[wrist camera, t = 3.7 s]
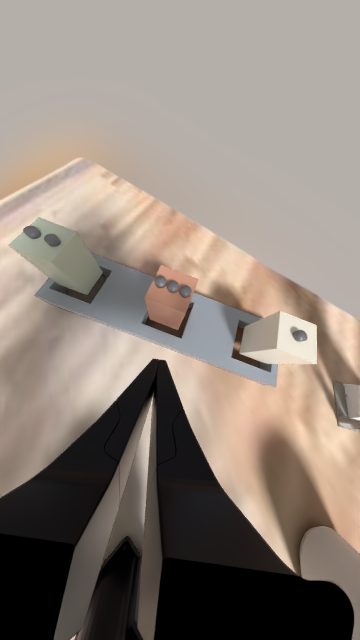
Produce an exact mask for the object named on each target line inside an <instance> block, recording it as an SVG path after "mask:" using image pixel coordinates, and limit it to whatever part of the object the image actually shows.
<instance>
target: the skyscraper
mask: <svg viewBox="0 0 360 640" xmlns="http://www.w3.org/2000/svg"><path fill="white" fill-rule="evenodd" d="M333 387H334V396H335V404H336V413H337V421H338V426H340V427H343V428H347V429H350V430H354V431H358V432H360V385H355V384H343V383H339V382H336V381H333Z"/></svg>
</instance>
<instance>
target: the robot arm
mask: <svg viewBox="0 0 360 640" xmlns="http://www.w3.org/2000/svg"><path fill="white" fill-rule="evenodd" d="M153 393H154V394H153ZM152 397H153V404H152V419H151V434H150V449H149V464H148V478H147V493H146V508H145V523H144V538H143V553H142V556H141V555H140V554H139V552H138V551H137V549H136V547H135V546H134V544H133V542H132V540H131V539H130V538H129V537H125V538H124V539H123V540H122V541H121V543H120V544H119V545H118V546H117V548H116V549H115V550H114V551H113V552H112V554H111V555H110V556H109V557H108V558H107V560H106V561H105V562H104V563H103V565H102V561H103V558H104V555H105V552H106V548H107V545H108V542H109V538H110V535H111V532H112V529H113V525H114V522H115V519H116V516H117V512H118V509H119V504H120V502H121V499H122V496H123V493H124V489H125V486H126V483H127V479H128V476H129V473H130V470H131V466H132V463H133V460H134V456H135V453H136V450H137V447H138V443H139V440H140V437H141V433H142V430H143V427H144V424H145V420H146V417H147V414H148V411H149V407H150V404H151V401H152ZM125 544H127V545H128V546H126V547H125V546H124V545H125ZM101 565H102V566H101ZM353 629H354V610H353V607H352V604H351V601H350V599H349V597H348V596H347V594H346V593H345V592H344V591H343V589H342V588H341V587H340V586H339V585H338V584H337V583H336V582H334V581H328V580H306V579H304V578H302V577H301V576H299V575H298V574H296V573H295V572H293V571H292V570H291V569H290V568H289V567H288V566H287V565H286V564H285V563H284V562H283V561H282V560H281V559H280V558H279V557H278V556H277V555H276V553H275V552H274V551H273V550H272V549H271V547H270V546H269V545H268V544H267V542H266V541H265V540H264V539H263V538H262V536H261V535H260V534H259V533H258V532H257V530H256V529H255V528H254V527H253V525H252V524H251V523H250V522H249V521H248V519H247V518H246V517H245V516H244V515H243V513H242V512H241V511H240V510H239V508H238V507H237V506H236V505H235V504H234V502H233V501H232V500H231V499H230V498H229V496H228V495H227V494H226V492H225V491H224V490H223V488H222V487H221V485H220V484H219V482H218V480H217V479H216V477H215V475H214V473H213V471H212V469H211V467H210V465H209V463H208V461H207V459H206V457H205V455H204V453H203V451H202V449H201V447H200V445H199V443H198V441H197V439H196V437H195V435H194V433H193V431H192V428H191V426H190V424H189V421H188V419H187V416H186V414H185V411H184V409H183V406H182V403H181V400H180V398H179V395H178V392H177V389H176V387H175V384H174V381H173V379H172V376H171V373H170V370H169V368H168V365H167V362H166V361H165V360H159V359H152V360H151V361H150V363H149V364H148V365H147V366H146V367H145V368H144V369H143V370H142V372H141V373H140V374H139V375H138V376H137V377H136V378H135V379H134V380H133V382H132V383H131V384H130V385H129V386H128V387H127V388H126V389H125V391H124V392H123V393H122V394H121V395H120V396H119V397H118V398H117V400H116V401H115V402H114V403H113V404H112V405H111V406H110V407H109V408H108V409H107V410H106V412H105V413H104V414H103V415H102V416H101V417H100V418H99V419H98V420H97V421H96V422H95V423H94V424H93V425H92V426H91V427H90V428H88V429H87V430H86V431H85V432H84V433H83V434H82V435H81V436H80V437H79V438H78V439H77V440H76V441H75V442H73V443H72V444H71V445H70V446H69V447H68V448H67V449H66V450H65V451H64V452H63V453H62V454H61V455H60V456H58V457H57V458H56V459H55V460H54V461H53V462H52V463H51V464H50V465H48V466H47V467H46V468H45V469H44V470H42V471H41V472H40V473H38V474H37V475H36V476H34V477H33V478H31V479H30V480H28V481H27V482H25V483H24V484H22V485H20V486H19V487H17V488H16V489H14V490H12V491H11V492H9V493H8V494H6V495H4V496H3V497H1V498H0V640H70V639H71V638H72V637H73V636H75V635H76V637H75V640H352V635H353Z"/></svg>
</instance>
